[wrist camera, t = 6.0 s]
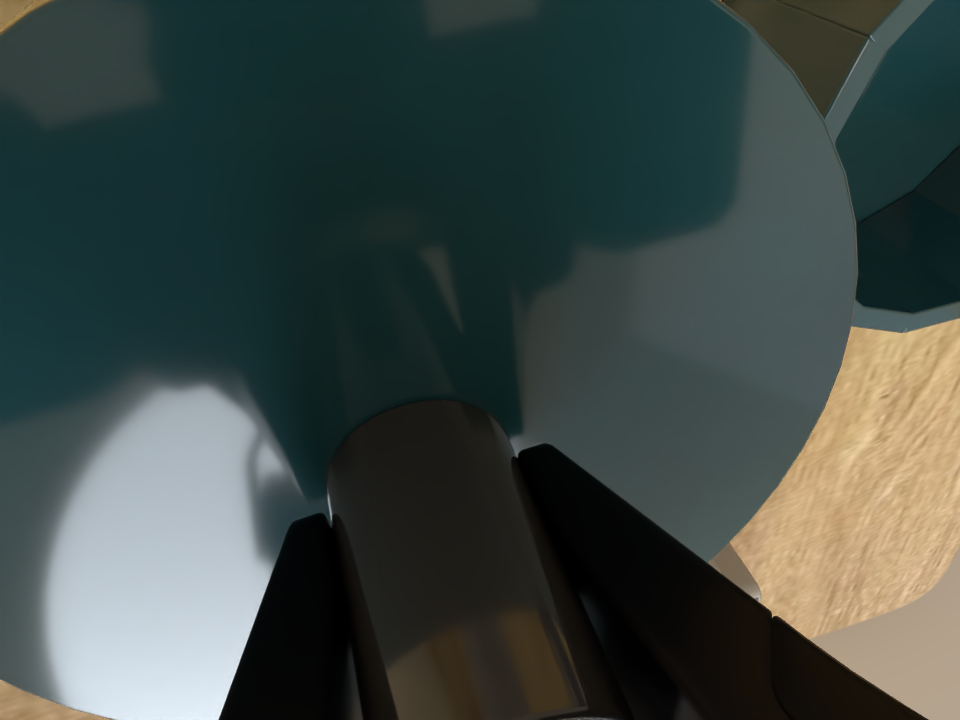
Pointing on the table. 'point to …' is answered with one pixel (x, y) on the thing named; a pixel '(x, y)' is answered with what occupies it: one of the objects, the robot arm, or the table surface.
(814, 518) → the table surface
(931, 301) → the pot
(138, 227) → the pot lid
